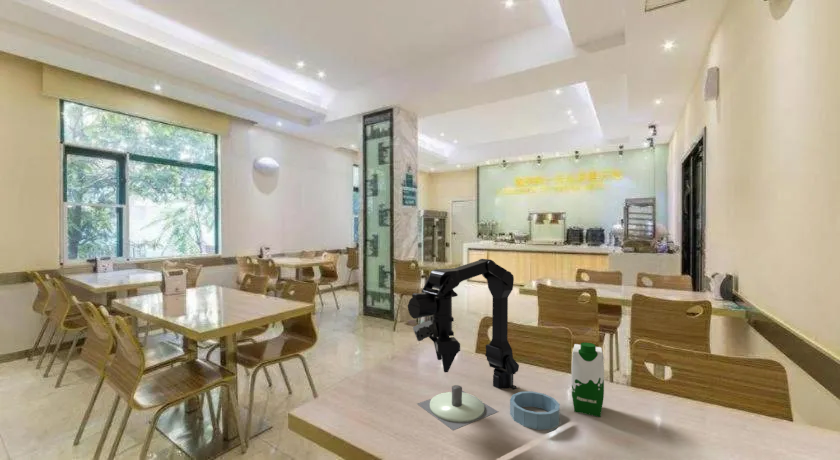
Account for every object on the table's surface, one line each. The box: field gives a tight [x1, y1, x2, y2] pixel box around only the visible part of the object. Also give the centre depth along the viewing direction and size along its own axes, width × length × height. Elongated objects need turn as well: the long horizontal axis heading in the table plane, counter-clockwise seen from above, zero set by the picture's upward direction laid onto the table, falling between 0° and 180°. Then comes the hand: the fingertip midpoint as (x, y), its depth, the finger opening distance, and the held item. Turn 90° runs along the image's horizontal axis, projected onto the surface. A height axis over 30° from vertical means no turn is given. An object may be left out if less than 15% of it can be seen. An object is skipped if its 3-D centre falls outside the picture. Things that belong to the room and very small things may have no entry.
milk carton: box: [571, 341, 605, 418], centre depth 109 cm, size 9×9×20 cm
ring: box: [509, 390, 561, 433], centre depth 103 cm, size 13×13×5 cm
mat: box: [416, 390, 499, 431], centre depth 107 cm, size 17×17×1 cm
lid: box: [430, 384, 485, 422], centre depth 107 cm, size 16×16×6 cm
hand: (442, 365), depth 107 cm, fingers open, 9 cm apart
